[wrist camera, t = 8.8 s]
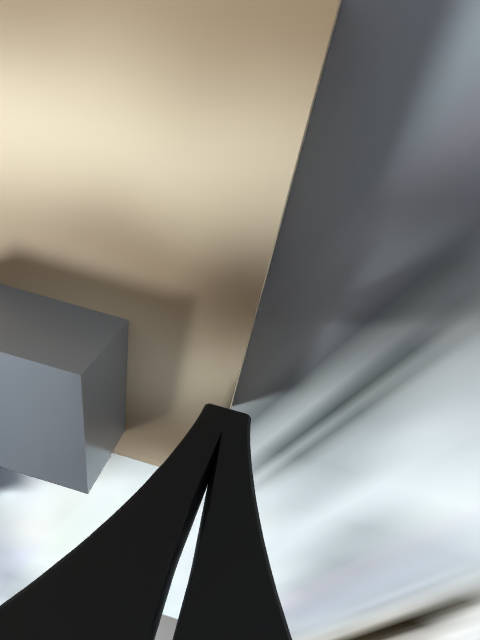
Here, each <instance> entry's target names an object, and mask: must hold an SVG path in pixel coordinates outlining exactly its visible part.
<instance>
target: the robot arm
mask: <svg viewBox="0 0 480 640" xmlns="http://www.w3.org/2000/svg"><path fill="white" fill-rule="evenodd" d="M250 423H251V417H250V416H249V415H248V414H245V413H242V412H238V411H235V410H231V409H228V408H224V407H221V406H217V405H214V404H211V403H208V404H206V405H205V406H204V408H203V410H202V412H201V413H200V415H199V417H198V418H197V420H196V421H195V423H194V424H193V426H192V427H191V429H190V430H189V431H188V433H187V434H186V435H185V437H184V438H183V439H182V441H181V442H180V443H179V444H178V446H177V447H176V448H175V449H174V451H173V452H172V453H171V454H170V456H169V457H168V458H167V459H166V460H165V462H164V463H163V464H162V465H161V466H160V467H159V468H158V469H157V470H156V472H155V473H154V474H153V475H152V476H151V477H150V478H149V479H148V480H147V481H146V483H145V484H144V485H143V486H142V487H141V488H140V489H139V490H138V491H137V492H136V493H135V494H134V495H133V496H132V497H131V498H130V499H129V500H128V501H127V502H126V503H125V504H124V505H123V506H122V507H121V508H120V509H119V510H117V511H116V512H115V513H114V514H113V515H112V516H111V517H110V518H109V519H108V520H107V521H106V522H104V523H103V524H102V525H101V526H100V527H99V528H98V529H97V530H95V531H94V532H93V533H92V534H91V535H90V536H89V537H88V538H86V539H85V540H84V541H83V542H82V543H81V544H79V545H78V546H77V547H76V548H75V549H73V550H72V551H71V552H70V553H68V554H67V555H66V556H65V557H63V558H62V559H61V560H60V561H58V562H57V563H56V564H55V565H53V566H52V567H51V568H50V569H48V570H47V571H46V572H45V573H43V574H42V575H41V576H40V577H38V578H37V579H36V580H35V581H33V582H32V583H31V584H29V585H28V586H27V587H25V588H24V589H23V590H21V591H20V592H18V593H17V594H16V595H14V596H13V597H12V598H10V599H9V600H7V601H6V602H5V603H3V604H2V605H1V606H0V640H154V639H155V636H156V632H157V629H158V626H159V622H160V619H161V615H162V612H163V609H164V606H165V602H166V599H167V596H168V592H169V589H170V586H171V582H172V579H173V576H174V573H175V570H176V567H177V564H178V561H179V558H180V556H181V553H182V551H183V548H184V545H185V543H186V540H187V538H188V535H189V532H190V530H191V527H192V525H193V522H194V519H195V517H196V514H197V511H198V509H199V506H200V504H201V501H202V498H203V496H204V493H205V491H206V488H207V492H206V497H205V502H204V507H203V512H202V517H201V522H200V528H199V533H198V538H197V543H196V548H195V553H194V558H193V564H192V568H191V572H190V577H189V581H188V585H187V588H186V592H185V596H184V600H183V603H182V607H181V611H180V614H179V618H178V622H177V625H176V630H175V633H174V636H173V640H292V638H291V635H290V632H289V629H288V625H287V622H286V619H285V616H284V612H283V609H282V606H281V603H280V600H279V596H278V593H277V590H276V586H275V582H274V579H273V575H272V571H271V567H270V564H269V559H268V555H267V551H266V547H265V543H264V538H263V534H262V529H261V524H260V519H259V513H258V508H257V502H256V495H255V489H254V481H253V473H252V463H251V449H250ZM207 485H208V486H207Z"/></svg>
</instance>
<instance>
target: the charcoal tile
mask: <svg viewBox="0 0 480 640" xmlns="http://www.w3.org/2000/svg"><path fill="white" fill-rule="evenodd" d="M128 331H129V320H127V319H123V318H120V317H116V316H113V315H109V314H106V313H102V312H99V311H95V310H92V309H88V308H84V307H81V306H77V305H74V304H70V303H67V302H63V301H60V300H56V299H52V298H49V297H45V296H42V295H38V294H35V293H31V292H28V291H24V290H21V289H17V288H13V287H10V286H6V285H3V284H0V467H2V468H5V469H9V470H12V471H15V472H18V473H22V474H25V475H28V476H31V477H35V478H38V479H41V480H44V481H48V482H51V483H54V484H57V485H61V486H64V487H67V488H70V489H73V490H77V491H80V492H83V493H86V494H88V493H89V491H90V490H91V488H92V486H93V485H94V483H95V481H96V479H97V478H98V476H99V474H100V473H101V471H102V469H103V467H104V466H105V464H106V462H107V461H108V459H109V457H110V456H111V454H112V452H113V450H114V449H115V447H116V445H117V444H118V442H119V440H120V439H121V437H122V435H123V433H124V432H125V413H126V386H127V358H128Z"/></svg>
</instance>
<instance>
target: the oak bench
mask: <svg viewBox="0 0 480 640" xmlns="http://www.w3.org/2000/svg"><path fill="white" fill-rule="evenodd" d="M341 2H342V0H0V284H3V285H6V286H10V287H13V288H17V289H21V290H24V291H28V292H31V293H35V294H38V295H42V296H45V297H49V298H52V299H56V300H60V301H63V302H67V303H70V304H74V305H77V306H81V307H84V308H88V309H92V310H95V311H99V312H102V313H106V314H109V315H113V316H116V317H120V318H123V319H127V320H129V331H128V358H127V386H126V413H125V432H124V433H123V435H122V437H121V439H120V440H119V442H118V444H117V445H116V447H115V449H114V450H113V452H112V453H116V454H119V455H122V456H126V457H129V458H132V459H135V460H139V461H142V462H145V463H149V464H152V465H155V466H159V467H160V466H161V465H162V464H163V463H164V462H165V460H166V459H167V458H168V457H169V456H170V454H171V453H172V452H173V451H174V449H175V448H176V447H177V446H178V444H179V443H180V442H181V441H182V439H183V438H184V437H185V435H186V434H187V433H188V431H189V430H190V429H191V427H192V426H193V424H194V423H195V421H196V420H197V418H198V417H199V415H200V413H201V412H202V410H203V408H204V406H205V405H206V404H208V403H211V404H214V405H217V406H221V407H224V408H228V409H231V407H232V403H233V399H234V396H235V392H236V388H237V385H238V381H239V377H240V374H241V370H242V366H243V362H244V359H245V355H246V351H247V348H248V344H249V340H250V337H251V333H252V329H253V326H254V322H255V318H256V315H257V311H258V307H259V304H260V300H261V296H262V293H263V289H264V285H265V282H266V278H267V274H268V271H269V267H270V263H271V259H272V256H273V252H274V248H275V245H276V241H277V237H278V234H279V230H280V226H281V223H282V219H283V215H284V212H285V208H286V204H287V201H288V197H289V193H290V190H291V186H292V182H293V179H294V175H295V171H296V168H297V164H298V160H299V157H300V153H301V149H302V145H303V142H304V138H305V134H306V131H307V127H308V123H309V120H310V116H311V112H312V109H313V105H314V101H315V98H316V94H317V90H318V87H319V83H320V79H321V76H322V72H323V68H324V65H325V61H326V57H327V54H328V50H329V46H330V42H331V39H332V35H333V31H334V28H335V24H336V20H337V17H338V13H339V9H340V6H341Z"/></svg>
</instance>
